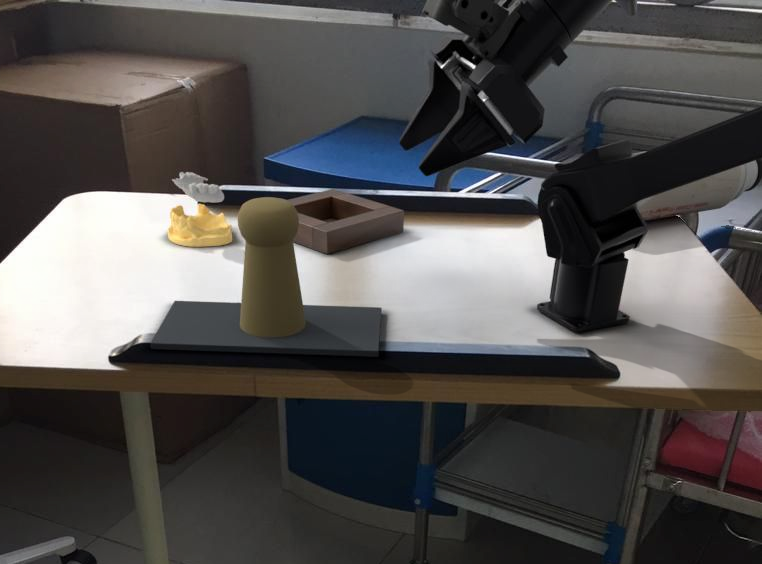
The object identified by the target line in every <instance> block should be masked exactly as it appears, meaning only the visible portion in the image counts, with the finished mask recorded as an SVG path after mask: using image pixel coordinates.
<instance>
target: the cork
mask: <svg viewBox="0 0 762 564" xmlns="http://www.w3.org/2000/svg"><path fill="white" fill-rule="evenodd" d="M287 200H288V199H285V198H281V197H271V196H265V197H264V196H263V197H256V198H251V199H249V200H247V201H245V202H244V203H242V205H241V206H240V209H239V210H238V215H237V227H238V230H239V233H240V235H241V237H242V238H243V240H244V242H245V243H244V257H243V273H242V274H243V275H242V289H241V302H240V303H241V315H240V327H241V329H242V330H243V331H244V332H246V333H248V334H251V335H253V336H259V337H268V338H276V337H285V336H289V335H294V334H296V333H298V332H300V331H302V330H303V329H304V328H305V325H306V321H305V314H304V308H303V305H304V303H303V295H302V290H301V283H300V277H299V271H298V264H297V259H296V252H295V251H296V250H295V246H294V242H293V239H294V238H295V236H296V234H297V231H298V226H299V217H298V213H297V210H296V209H295V207H294V205H293V204H292V203H290V202H289V201H287Z"/></svg>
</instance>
